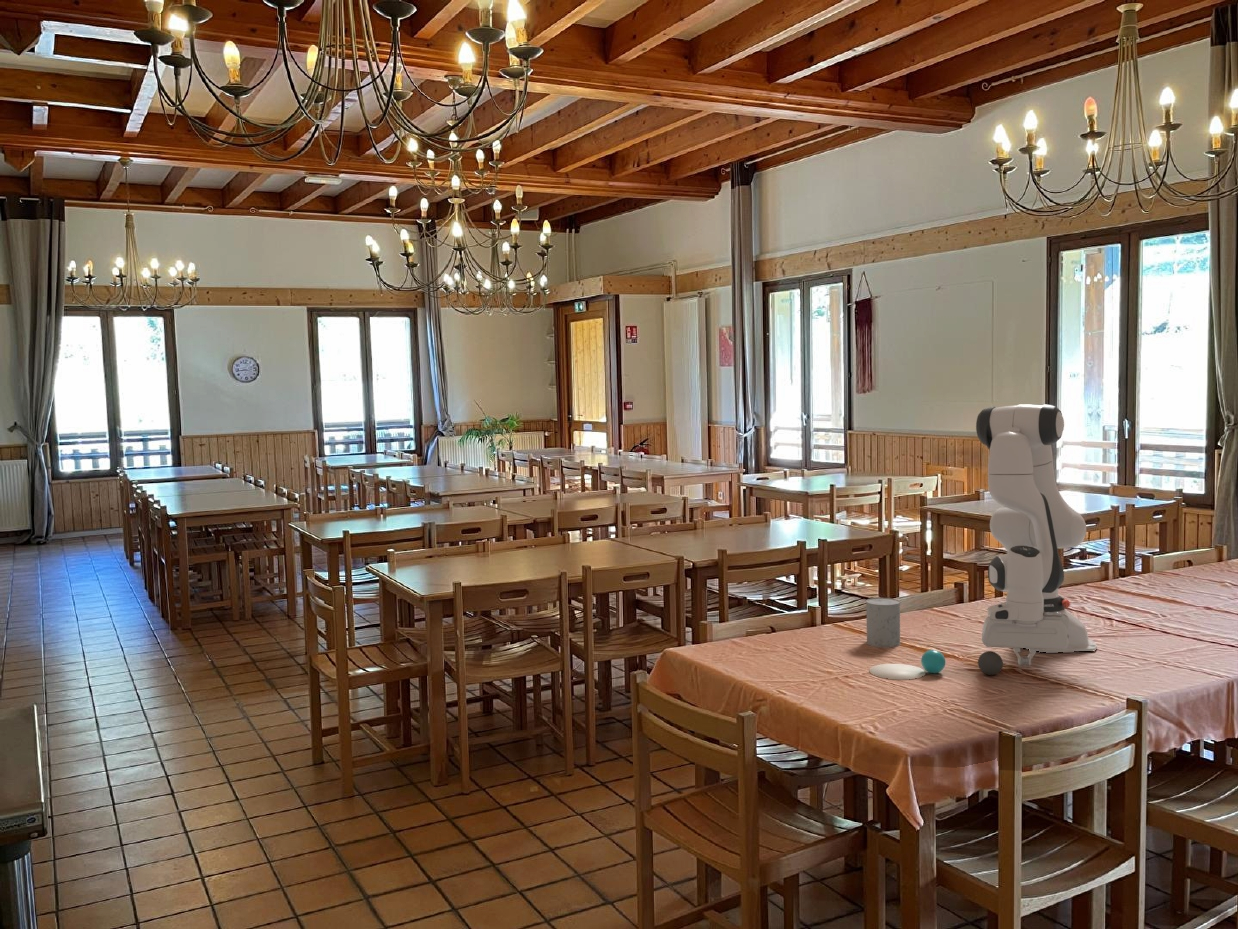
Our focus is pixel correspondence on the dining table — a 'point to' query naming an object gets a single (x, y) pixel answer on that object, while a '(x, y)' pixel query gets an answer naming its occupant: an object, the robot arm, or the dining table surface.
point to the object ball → (933, 661)
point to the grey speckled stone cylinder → (883, 622)
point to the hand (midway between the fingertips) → (1024, 665)
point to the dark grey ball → (990, 663)
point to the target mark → (897, 671)
